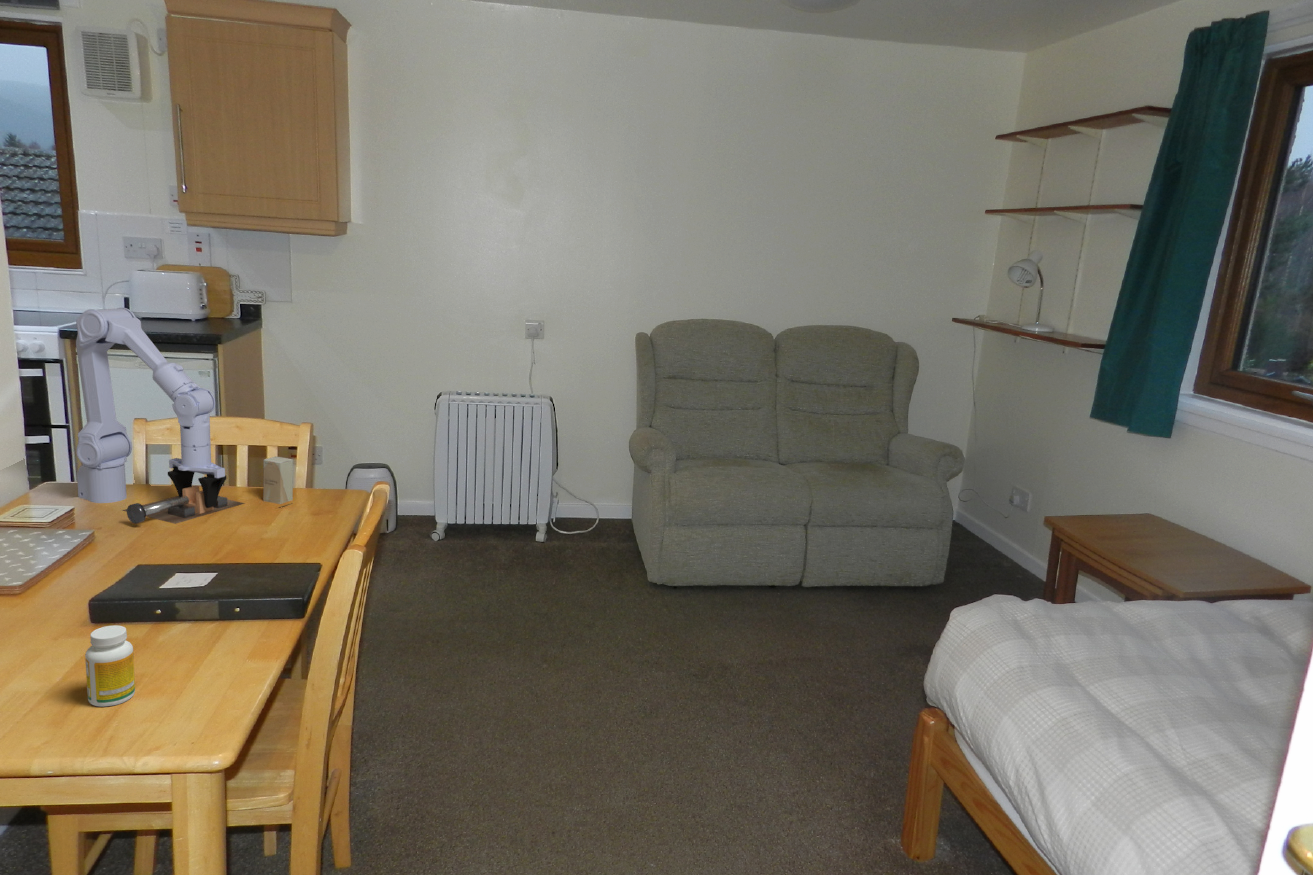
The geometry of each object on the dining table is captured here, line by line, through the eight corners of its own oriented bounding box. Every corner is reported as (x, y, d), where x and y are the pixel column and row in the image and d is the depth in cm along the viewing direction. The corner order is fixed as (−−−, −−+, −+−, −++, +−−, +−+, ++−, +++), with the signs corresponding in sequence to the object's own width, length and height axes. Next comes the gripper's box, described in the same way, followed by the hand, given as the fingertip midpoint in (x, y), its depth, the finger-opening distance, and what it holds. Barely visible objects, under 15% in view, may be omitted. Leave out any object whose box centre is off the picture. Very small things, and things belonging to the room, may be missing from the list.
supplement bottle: (78, 702, 111) (73, 635, 109) (114, 684, 116) (110, 619, 114) (110, 711, 109) (105, 643, 107) (145, 692, 114) (141, 627, 112)
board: (122, 514, 182) (122, 510, 182) (194, 495, 199) (194, 491, 199) (175, 527, 177) (175, 523, 177) (245, 507, 193) (244, 503, 193)
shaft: (127, 521, 173) (126, 502, 172) (179, 507, 184) (179, 489, 183) (141, 524, 171) (140, 506, 171) (193, 510, 183) (192, 492, 182)
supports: (168, 513, 182) (167, 505, 182) (211, 502, 192) (210, 494, 192) (184, 518, 180) (184, 509, 180) (227, 505, 190) (227, 497, 190)
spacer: (183, 509, 186) (182, 488, 185) (197, 505, 189) (196, 485, 188) (199, 513, 184) (199, 492, 183) (213, 509, 187) (212, 489, 186)
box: (262, 504, 196) (261, 459, 194) (275, 500, 200) (275, 455, 198) (281, 508, 195) (280, 462, 192) (294, 503, 199) (293, 458, 196)
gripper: (155, 442, 182) (158, 502, 185) (204, 452, 177) (206, 513, 180) (184, 437, 188) (186, 495, 191) (232, 446, 183) (234, 506, 186)
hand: (198, 503), depth 186 cm, fingers open, 7 cm apart
